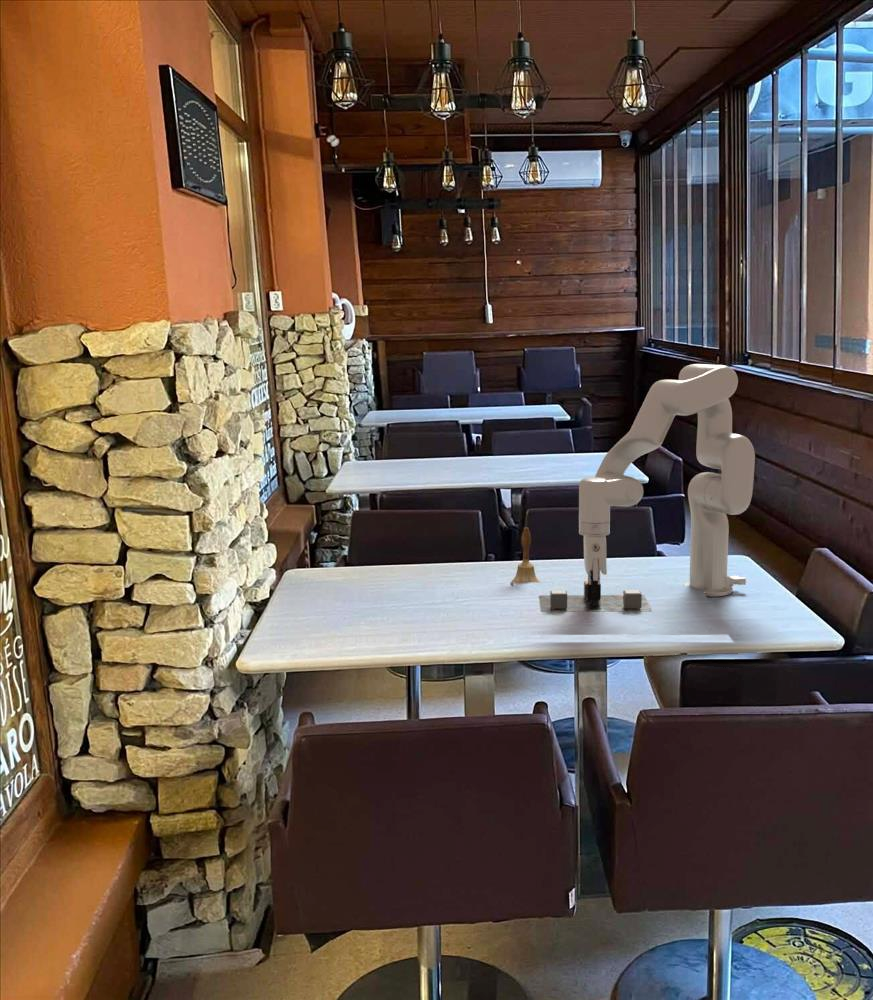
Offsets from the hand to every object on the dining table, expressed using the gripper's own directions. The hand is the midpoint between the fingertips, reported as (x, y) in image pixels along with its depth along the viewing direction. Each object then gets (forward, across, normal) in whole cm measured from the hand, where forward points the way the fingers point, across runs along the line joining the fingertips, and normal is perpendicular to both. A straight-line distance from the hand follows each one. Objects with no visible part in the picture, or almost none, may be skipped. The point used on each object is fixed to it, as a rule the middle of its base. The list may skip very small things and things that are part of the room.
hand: (593, 599), depth 236 cm
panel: (+3, 0, 0) cm, 3 cm away
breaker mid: (+1, +5, 0) cm, 5 cm away
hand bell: (+3, +24, +17) cm, 30 cm away
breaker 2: (+1, -3, -9) cm, 10 cm away
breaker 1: (+1, -4, +9) cm, 10 cm away
